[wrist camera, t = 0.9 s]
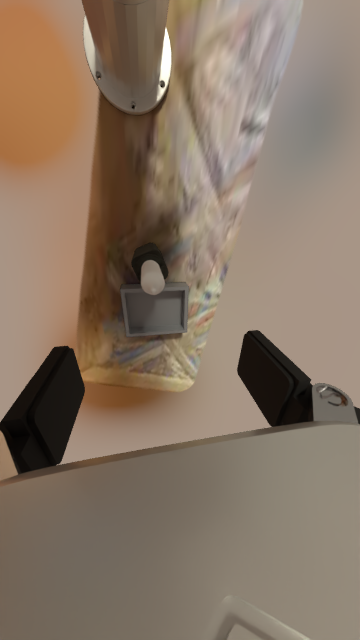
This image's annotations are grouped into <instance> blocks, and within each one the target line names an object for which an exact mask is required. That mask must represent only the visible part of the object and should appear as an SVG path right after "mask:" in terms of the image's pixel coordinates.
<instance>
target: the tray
mask: <svg viewBox="0 0 360 640" xmlns="http://www.w3.org/2000/svg"><path fill="white" fill-rule="evenodd" d="M188 290H189V286H188V285H187V284H186V282H174V283H165V286H164V288H163V290H162V291H161V292H160V293H158V294H157V295H151V294H148V293H146V292H145V291H144V290H143V289H142V286H141V284H122V285H121V288H120V293H121V300H122V307H123V315H124V322H125V329H126V337H135V336H147V335H160V334H172V333H185V332H187V320H188Z"/></svg>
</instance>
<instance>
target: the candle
mask: <svg viewBox="0 0 360 640" xmlns="http://www.w3.org/2000/svg"><path fill="white" fill-rule="evenodd" d="M132 267H133V269H134V271H135V273H136V275H137V277H138V279H139V281H140V283H141V286H142V289H143V290H144V291H145V292H146V293H148V294H151V295H157V294H158V293H160V292H161V291H162V290H163V288H164V286H165V281H164V279H166V278H167V276H168V269H167V267H166V264H165V262H164V259H163V257H162V254H161V252H160V251H159V249H158V248H157V246H156V245H155V244H154V243H148V244H146V245H144V246H141V247H139V248H137V249H136V250H135V253H134V256H133V259H132Z"/></svg>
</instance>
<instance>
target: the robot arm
mask: <svg viewBox="0 0 360 640" xmlns="http://www.w3.org/2000/svg"><path fill="white" fill-rule="evenodd" d="M82 4H83V8H84V11H85V16H84V23H83V40H84V49H85V54H86V59H87V62H88V65H89V68H90V71H91V73H92V76H93V78H94V81H95V82H96V84H97V86H98V88H99V90H100V91H101V92H102V94H103V95H104V96H105V98H106V99H107V100H108V101H109V102H110V103H111V104H112V105H113V106H115V107H116V108H118V109H119V110H121V111H123V112H125V113H128V114H133V115H141V114H145V113H148V112H150V111H151V110H153V109H154V108H156V106H157V105H158V104H159V103H160V102H161V100H162V99H163V97H164V95H165V93H166V90H167V87H168V85H169V80H170V74H171V66H172V53H171V46H170V40H169V36H168V32H167V28H166V21H167V13H168V4H169V0H82ZM98 78H101V80H98ZM160 86H163V88H161V87H160ZM132 106H134V107H135V109H132ZM237 371H238V375H239V376H240V378H241V380H242V381H243V383H244V384H245V386H246V388H247V389H248V391H249V393H250V394H251V396H252V397H253V399H254V400H255V402H256V404H257V405H258V407H259V409H260V410H261V411H262V413H263V415H264V417H265V418H266V419H267V421H268V423H269V424H270V425H271V426H272V427H270V428H264V429H258V430H252V431H246V432H240V433H234V434H228V435H223V436H217V437H211V438H205V439H200V440H194V441H188V442H182V443H176V444H171V445H165V446H159V447H153V448H148V449H142V450H137V451H131V452H126V453H120V454H115V455H110V456H103V457H98V458H92V459H87V460H82V461H77V462H72V463H67V464H62V465H57V464H59V463H60V462H61V461H62V458H63V455H64V452H65V449H66V446H67V443H68V440H69V437H70V434H71V431H72V428H73V426H74V422H75V420H76V417H77V414H78V410H79V408H80V405H81V402H82V399H83V396H84V392H85V387H84V383H83V380H82V377H81V373H80V370H79V367H78V363H77V360H76V357H75V353H74V350H73V349H72V348H69V347H68V346H60V347H54V348H53V349H52V351H51V352H50V354H49V355H48V356H47V358H46V359H45V361H44V362H43V363H42V365H41V366H40V368H39V369H38V371H37V372H36V373H35V375H34V376H33V377H32V379H31V380H30V381H29V383H28V384H27V386H26V387H25V389H24V390H23V391H22V392H21V394H20V395H19V397H18V398H17V400H16V401H15V402H14V404H13V405H12V407H11V408H10V410H9V411H8V412H7V414H6V415H5V416H4V418H3V419H2V421H1V422H0V640H360V409H359V408H356V407H354V406H353V402H352V401H351V399H350V398H349V396H348V395H347V394H345V393H344V392H343V391H342V390H340V389H338V388H336V387H334V386H332V385H329V384H325V383H317V384H315V385H312V384H311V383H310V381H311V379H310V378H309V377H308V376H307V375H306V374H305V373H304V372H302V371H301V370H300V369H299V368H298V367H297V366H296V365H295V364H294V363H293V362H292V361H291V360H290V359H289V358H288V357H287V356H285V355H284V354H283V353H282V352H281V351H280V350H279V349H278V348H277V347H276V346H275V345H274V344H273V343H272V342H271V341H270V340H268V339H267V338H266V337H265V336H264V335H263V334H262V333H261V332H260V331H258V330H255V331H248V332H247V334H245V335H244V339H243V344H242V349H241V353H240V358H239V364H238V368H237ZM56 465H57V466H56Z"/></svg>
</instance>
